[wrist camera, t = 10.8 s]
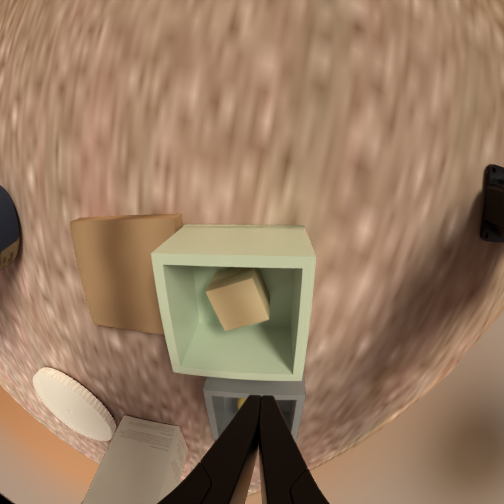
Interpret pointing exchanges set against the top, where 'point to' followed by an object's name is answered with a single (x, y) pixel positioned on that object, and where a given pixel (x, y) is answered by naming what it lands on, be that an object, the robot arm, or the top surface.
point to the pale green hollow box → (204, 316)
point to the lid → (122, 267)
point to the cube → (239, 297)
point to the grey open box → (229, 390)
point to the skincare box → (139, 464)
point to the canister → (8, 230)
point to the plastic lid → (74, 404)
